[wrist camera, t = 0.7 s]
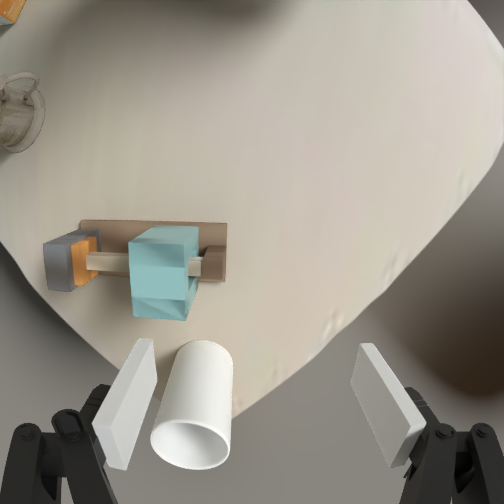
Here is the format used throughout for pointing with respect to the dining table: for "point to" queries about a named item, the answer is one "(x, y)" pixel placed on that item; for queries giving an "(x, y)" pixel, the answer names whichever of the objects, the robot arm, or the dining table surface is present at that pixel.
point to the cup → (196, 408)
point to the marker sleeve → (163, 272)
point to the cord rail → (124, 252)
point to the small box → (10, 10)
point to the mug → (20, 113)
